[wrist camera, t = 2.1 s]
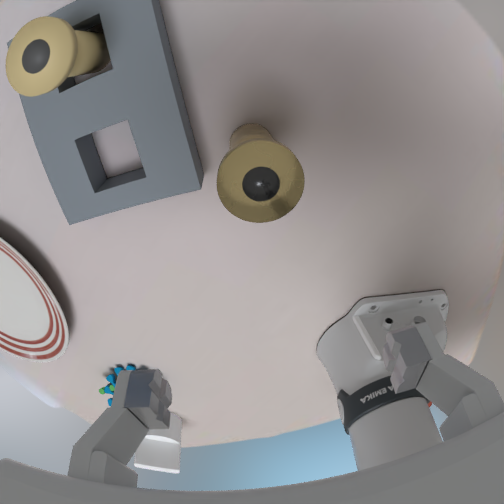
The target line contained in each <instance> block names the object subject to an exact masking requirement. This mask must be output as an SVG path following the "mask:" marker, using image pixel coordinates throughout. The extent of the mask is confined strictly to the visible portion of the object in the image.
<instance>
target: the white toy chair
mask: <svg viewBox="0 0 504 504" xmlns="http://www.w3.org/2000/svg"><path fill="white" fill-rule="evenodd" d="M170 414H171V415H170V426H169V429H148V430H149V432H148V433H147V435H146V436H145V438H144V439H143V441H142V442H141V444H140V445H139V447H138V448H137V450H136V451H135V460H134V466H135V467H140V468H145V469H150V470H157V471H163V472H171V473H179V472H180V449H181V430H182V419H181V418H180V417H179V416H178V415H176V414H174V413H172V412H170Z"/></svg>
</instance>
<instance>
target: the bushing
mask: <svg viewBox="0 0 504 504" xmlns="http://www.w3.org/2000/svg"><path fill="white" fill-rule="evenodd" d="M303 189H304V173H303V169H302V167H301V165H300V163H299V161H298V159H297V158H296V156H295V155H294V154H293V152H292V151H291V150H290V149H289V148H288V147H286V146H285V145H283V144H282V143H280V142H277V141H275V140H273V138H272V136H271V135H270V133H269V132H268V130H267V129H265V128H264V127H262V126H260V125H258V124H246V125H243V126H241V127H239V128H238V129H236V130H235V131H234V133H233V134H232V136H231V138H230V151H228V152H227V154H226V155H225V156H224V158H223V159H222V161H221V163H220V166H219V169H218V175H217V191H218V195H219V197H220V200H221V202H222V203H223V205H224V206H225V208H226V209H227V210H228V211H229V212H231V213H232V214H233V215H235V216H236V217H238V218H240V219H242V220H245V221H249V222H256V223H263V222H269V221H273V220H276V219H279V218H281V217H283V216H284V215H286V214H287V213H289V212H290V211H291V210H292V209H293V208H294V207H295V206H296V204H297V203H298V201H299V200H300V198H301V196H302V193H303Z"/></svg>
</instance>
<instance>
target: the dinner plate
mask: <svg viewBox="0 0 504 504" xmlns="http://www.w3.org/2000/svg"><path fill="white" fill-rule="evenodd" d="M68 342H69V331H68V325H67V322H66V319H65V316H64V313H63V311H62V309H61V307H60V305H59V303H58V301H57V299H56V297H55V296H54V294H53V292H52V291H51V289H50V288H49V286H48V285H47V283H46V282H45V281H44V279H43V278H42V277H41V276H40V274H39V273H38V272H37V271H36V269H35V268H34V267H33V266H32V265H31V264H30V263H29V262H28V261H27V260H26V259H25V258H24V257H23V256H22V255H21V254H20V253H19V252H18V251H17V250H16V249H15V248H14V247H12V246H11V245H10V244H9V243H7V242H6V241H5V240H3V239H2V238H1V237H0V349H1V350H3V351H4V352H6V353H8V354H10V355H13V356H15V357H17V358H20V359H23V360H27V361H32V362H50V361H54V360H56V359H58V358H60V357H61V356H62V355H63V354H64V352H65V351H66V349H67V346H68Z"/></svg>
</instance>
